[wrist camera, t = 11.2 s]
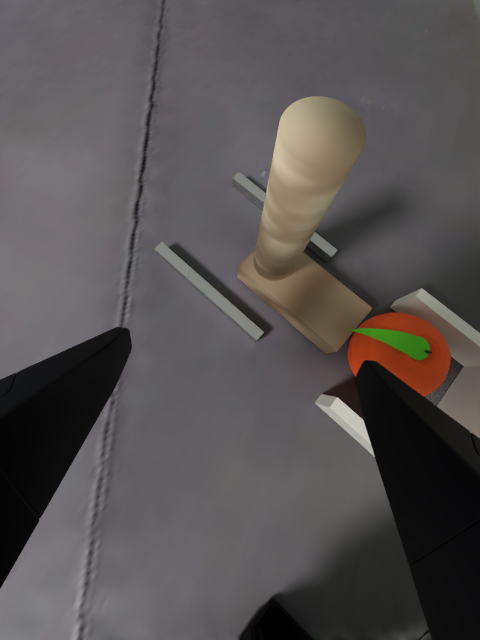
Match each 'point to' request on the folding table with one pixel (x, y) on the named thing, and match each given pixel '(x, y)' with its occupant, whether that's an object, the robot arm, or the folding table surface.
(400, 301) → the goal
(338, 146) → the ball
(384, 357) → the clementine
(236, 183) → the rails
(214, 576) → the folding table surface
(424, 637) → the beer glass
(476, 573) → the robot arm
